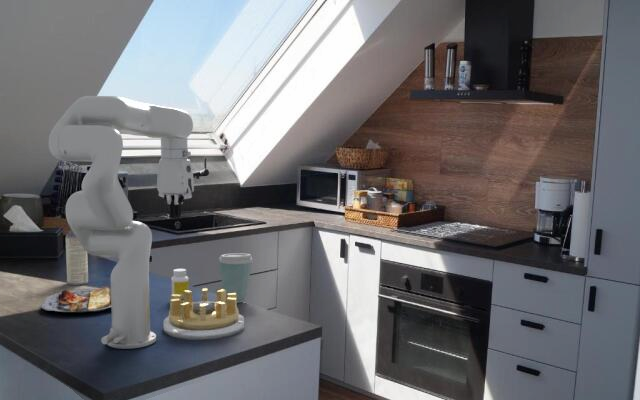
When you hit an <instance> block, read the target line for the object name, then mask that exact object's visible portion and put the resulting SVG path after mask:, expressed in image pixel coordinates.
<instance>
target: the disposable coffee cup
mask: <svg viewBox="0 0 640 400" xmlns="http://www.w3.org/2000/svg"><path fill="white" fill-rule="evenodd" d="M218 261H219V263H218V264H219V269H220V270H219V271H220V276H221V286H222V289H224V290H226V303H227V294H229V293H236V294H237V303H238V304H240V303H243V302H245V301H246V299H247V295H248V294H247V293H248V288H249V287H248V286H249V280H250V274H251V269H252V264H253V262H254V260H253V257H252V254H251V253H245V252H244V253H242V252H240V253H239V252H235V253H233V252H232V253H225V254H221V255H220V256H219V257H218Z"/></svg>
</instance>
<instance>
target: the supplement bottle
mask: <svg viewBox="0 0 640 400" xmlns="http://www.w3.org/2000/svg"><path fill="white" fill-rule="evenodd" d="M172 272H173V276H172V277H171V279H170V281H171V282H170V284H171V287H170V288H171V293H170V294H171V295H173V294H178V295H182V303H184V291H185V290H189V289H190V288H189V287H190V284H189V282H190V281H189V279H190V278H189V277H188V276H187V269H185V268H176V269H173V271H172ZM189 291H190V290H189ZM171 295H170V296H171Z"/></svg>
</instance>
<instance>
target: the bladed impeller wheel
mask: <svg viewBox="0 0 640 400" xmlns="http://www.w3.org/2000/svg"><path fill="white" fill-rule="evenodd" d="M201 291H202V292H201V293H202V294H201V295H202V296H201V297H202V299H201V300H199V301H195V302H193V291H191V290H185V291H184V302H182V295H178V294H173V295H170V296H171V297H170V299H169V304H170V305H169V311H168V316H169V323H170V324H171V325H173V326H175V327H178V328H182V329H189V330H211V329H218V328H223V327H227V326H230V325H233V324H234V323H236V322H237V321H238V320H239V314H240V311H239V307H238V306H237V305H238V304H237V294H236V293H229V294H227V302H226V290H224V289H223V288H221V289H220V290H217V291H216V301H210V300H209V299H208V297H209V296H208V287H207V288H206V287H205V288H204V287H203V288H202V290H201Z"/></svg>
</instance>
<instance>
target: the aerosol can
mask: <svg viewBox="0 0 640 400" xmlns="http://www.w3.org/2000/svg"><path fill="white" fill-rule="evenodd" d="M65 259H66V260H65V261H66V284H67V285H68V286H85V285H88V283H89V270H88V269H89V267H88V265H89V263H88V253H87V252H86V251H85V249H84V248H83V247H82V245H81V244H80V242H79V240H78V239H77V237H76V236H75V234H74V232H73V231H72V229H70V230H69V232H68V233H66V234H65Z"/></svg>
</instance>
